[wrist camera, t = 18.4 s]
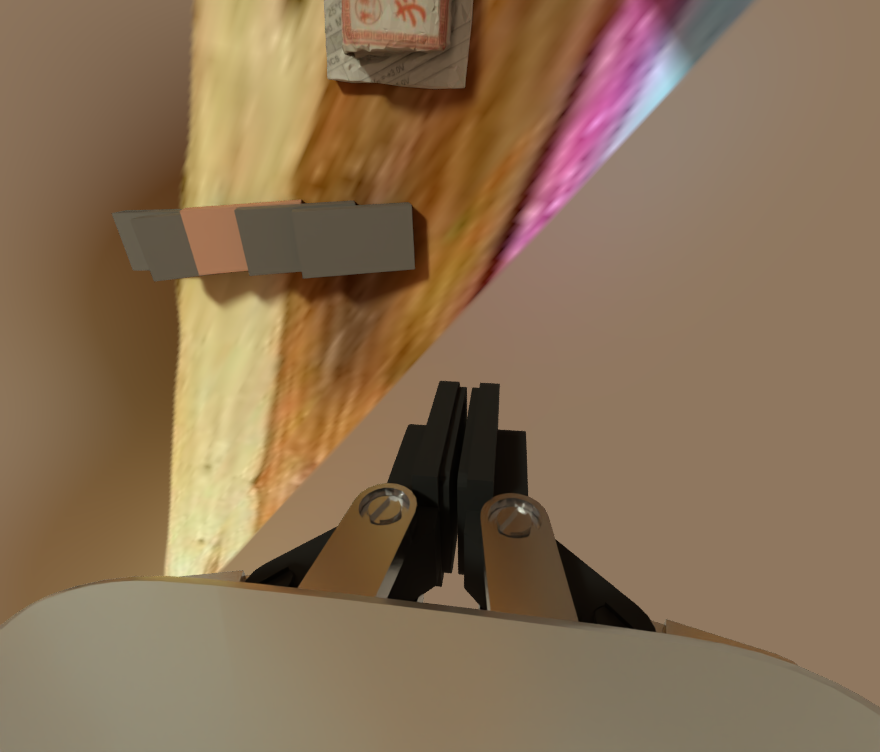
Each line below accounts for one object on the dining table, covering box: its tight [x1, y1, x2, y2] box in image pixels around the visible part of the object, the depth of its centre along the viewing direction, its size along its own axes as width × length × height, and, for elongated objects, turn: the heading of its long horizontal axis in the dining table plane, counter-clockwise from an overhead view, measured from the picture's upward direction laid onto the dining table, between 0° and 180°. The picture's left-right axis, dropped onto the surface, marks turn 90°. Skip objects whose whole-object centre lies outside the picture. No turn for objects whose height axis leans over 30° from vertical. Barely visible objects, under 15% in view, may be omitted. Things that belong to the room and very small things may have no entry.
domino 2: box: [130, 212, 228, 281], centre depth 38 cm, size 2×5×9 cm
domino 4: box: [234, 201, 355, 276], centre depth 36 cm, size 2×5×9 cm
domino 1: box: [112, 209, 181, 270], centre depth 40 cm, size 2×5×9 cm
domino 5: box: [291, 203, 415, 278], centre depth 36 cm, size 2×5×9 cm
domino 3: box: [180, 200, 302, 275], centre depth 37 cm, size 2×5×9 cm
